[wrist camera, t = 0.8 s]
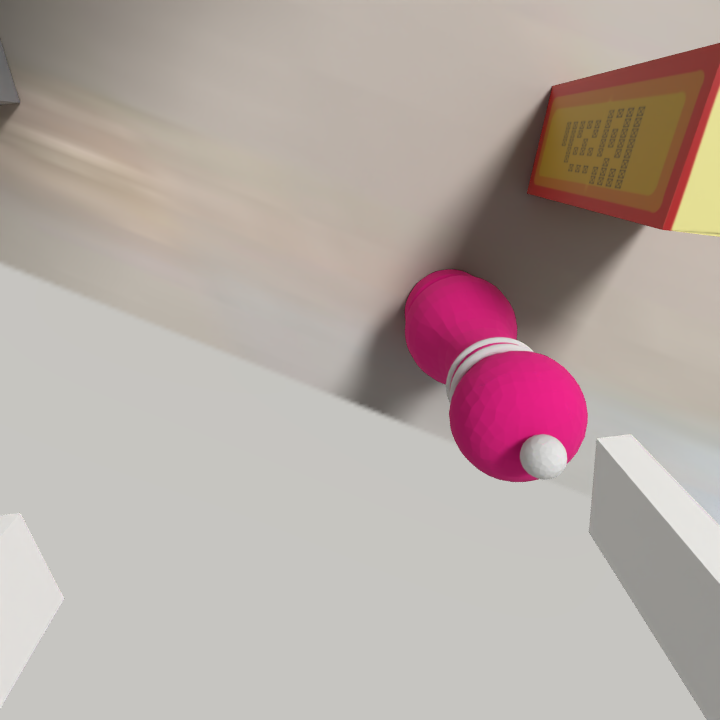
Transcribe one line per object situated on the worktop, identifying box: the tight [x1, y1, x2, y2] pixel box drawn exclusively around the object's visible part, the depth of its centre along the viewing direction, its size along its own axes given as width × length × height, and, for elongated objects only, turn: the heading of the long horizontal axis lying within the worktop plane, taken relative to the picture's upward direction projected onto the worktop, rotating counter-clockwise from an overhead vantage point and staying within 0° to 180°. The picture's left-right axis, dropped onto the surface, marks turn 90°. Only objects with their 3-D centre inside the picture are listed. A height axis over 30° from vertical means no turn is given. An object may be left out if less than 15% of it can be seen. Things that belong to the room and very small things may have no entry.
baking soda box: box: [527, 43, 720, 237], centre depth 26 cm, size 10×6×16 cm
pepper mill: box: [405, 269, 588, 482], centre depth 29 cm, size 7×7×20 cm
